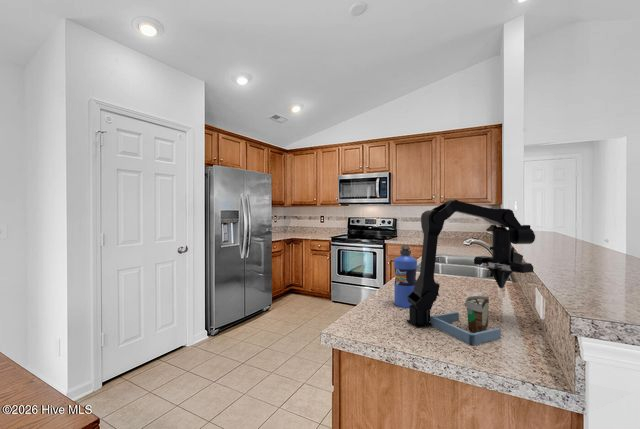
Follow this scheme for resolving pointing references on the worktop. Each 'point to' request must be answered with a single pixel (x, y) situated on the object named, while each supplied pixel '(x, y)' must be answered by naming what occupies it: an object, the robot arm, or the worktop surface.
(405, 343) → the worktop surface
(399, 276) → the water bottle
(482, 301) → the food container
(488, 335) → the slate-blue bay
